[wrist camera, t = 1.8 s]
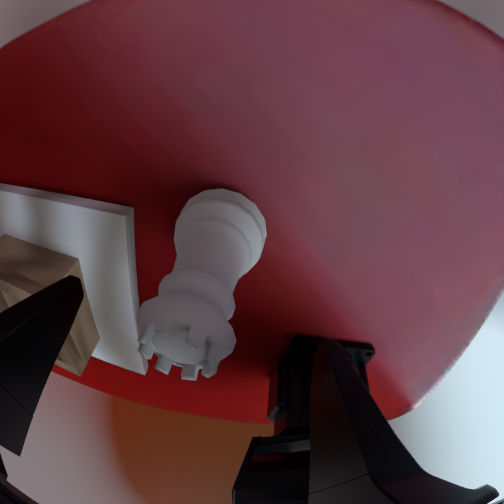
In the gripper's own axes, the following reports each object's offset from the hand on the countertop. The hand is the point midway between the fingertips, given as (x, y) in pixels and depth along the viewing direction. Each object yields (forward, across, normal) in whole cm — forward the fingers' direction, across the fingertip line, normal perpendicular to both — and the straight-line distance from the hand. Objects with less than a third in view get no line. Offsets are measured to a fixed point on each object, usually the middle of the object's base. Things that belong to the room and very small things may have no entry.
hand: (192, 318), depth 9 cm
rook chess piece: (+6, 0, 0) cm, 6 cm away
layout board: (+6, +13, +8) cm, 17 cm away
